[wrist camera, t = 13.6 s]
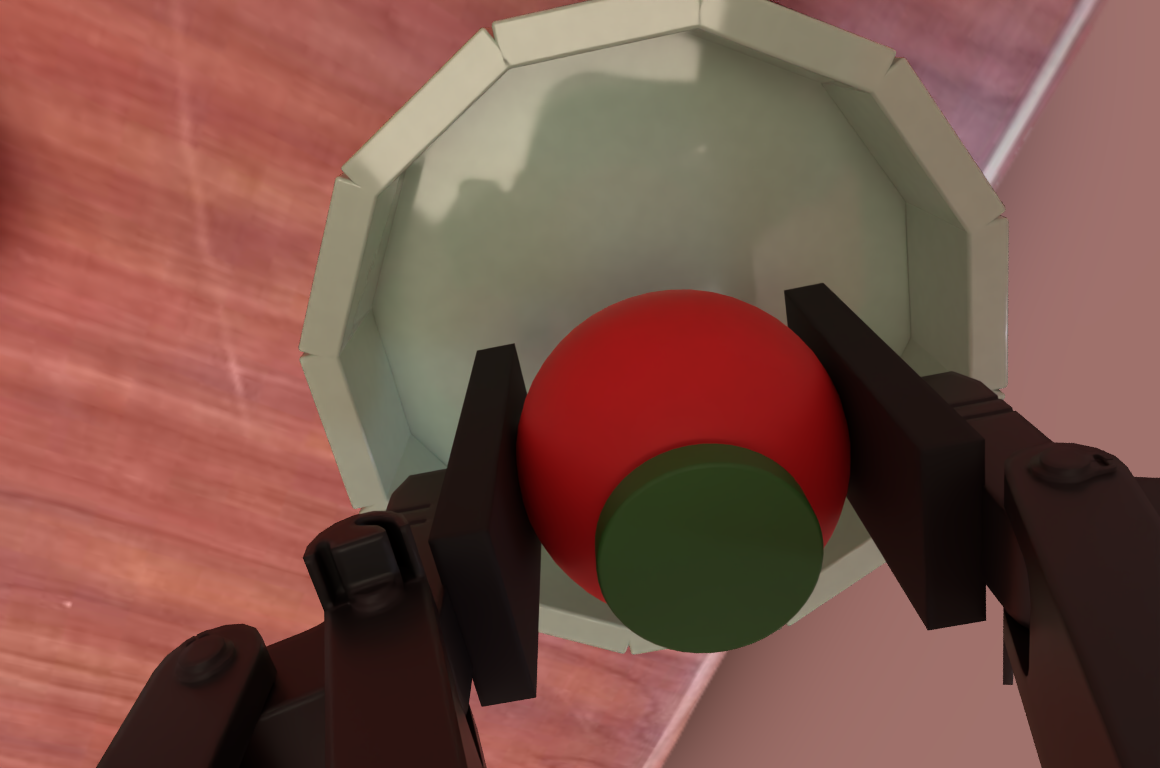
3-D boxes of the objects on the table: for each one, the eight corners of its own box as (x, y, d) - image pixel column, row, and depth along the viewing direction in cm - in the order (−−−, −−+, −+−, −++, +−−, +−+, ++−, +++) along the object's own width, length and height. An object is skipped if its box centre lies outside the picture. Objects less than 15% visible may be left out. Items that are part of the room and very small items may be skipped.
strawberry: (778, 220, 15) (908, 335, 10) (804, 469, 18) (924, 686, 12) (495, 277, 16) (458, 421, 10) (554, 515, 18) (552, 748, 12)
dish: (770, -28, 29) (1013, -94, 14) (805, 336, 35) (1008, 591, 19) (388, 55, 30) (199, 85, 14) (481, 398, 36) (418, 692, 20)
